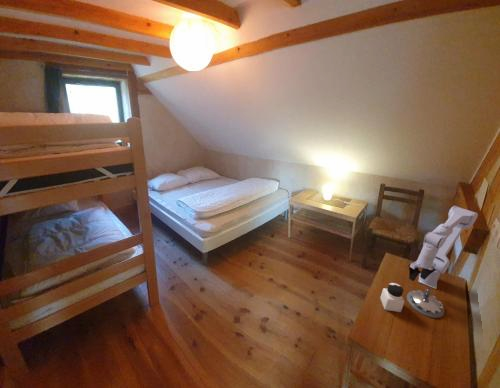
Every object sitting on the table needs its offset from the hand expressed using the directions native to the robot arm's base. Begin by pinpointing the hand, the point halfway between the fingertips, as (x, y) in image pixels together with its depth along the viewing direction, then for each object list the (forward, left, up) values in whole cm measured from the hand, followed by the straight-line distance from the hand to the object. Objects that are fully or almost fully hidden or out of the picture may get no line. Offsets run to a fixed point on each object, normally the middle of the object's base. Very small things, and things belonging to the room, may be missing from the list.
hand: (416, 278), depth 114 cm
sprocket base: (+4, +6, -10) cm, 12 cm away
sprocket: (+4, +6, -8) cm, 11 cm away
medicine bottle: (+15, -7, -10) cm, 19 cm away
